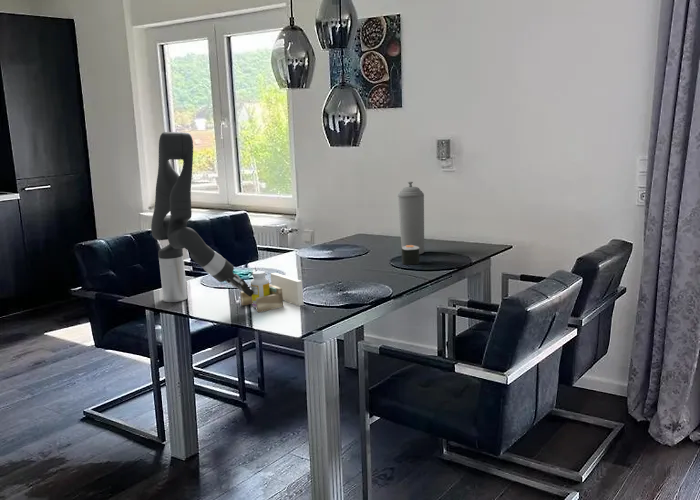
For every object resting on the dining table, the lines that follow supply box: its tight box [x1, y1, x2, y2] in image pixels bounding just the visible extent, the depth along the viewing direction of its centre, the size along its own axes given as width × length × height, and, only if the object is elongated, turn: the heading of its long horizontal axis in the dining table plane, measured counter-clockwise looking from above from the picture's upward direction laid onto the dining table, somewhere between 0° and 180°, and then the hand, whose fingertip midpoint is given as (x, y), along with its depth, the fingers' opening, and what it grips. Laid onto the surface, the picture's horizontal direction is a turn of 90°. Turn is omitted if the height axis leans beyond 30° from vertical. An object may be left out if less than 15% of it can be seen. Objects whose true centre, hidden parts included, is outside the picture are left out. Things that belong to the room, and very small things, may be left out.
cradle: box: [239, 283, 284, 313], centre depth 250 cm, size 14×10×7 cm
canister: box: [397, 181, 425, 255], centre depth 328 cm, size 13×13×35 cm
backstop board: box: [270, 272, 304, 306], centre depth 255 cm, size 20×2×9 cm, turn 35°
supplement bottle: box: [250, 270, 270, 309], centre depth 248 cm, size 7×7×13 cm
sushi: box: [401, 245, 420, 266], centre depth 309 cm, size 8×8×8 cm
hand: (251, 294), depth 246 cm, fingers closed
